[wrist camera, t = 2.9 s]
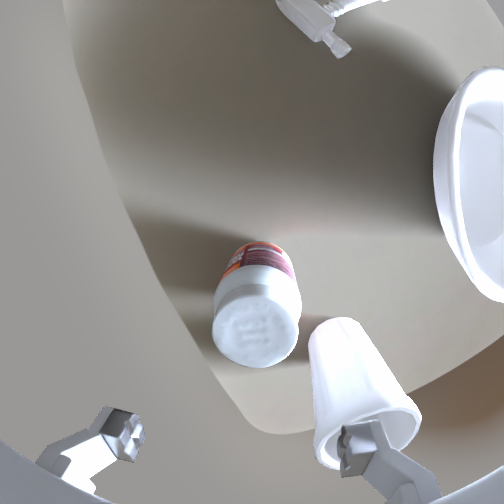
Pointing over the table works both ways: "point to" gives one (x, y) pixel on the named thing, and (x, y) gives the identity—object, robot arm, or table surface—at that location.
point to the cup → (354, 389)
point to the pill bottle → (257, 307)
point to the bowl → (474, 178)
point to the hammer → (320, 20)
